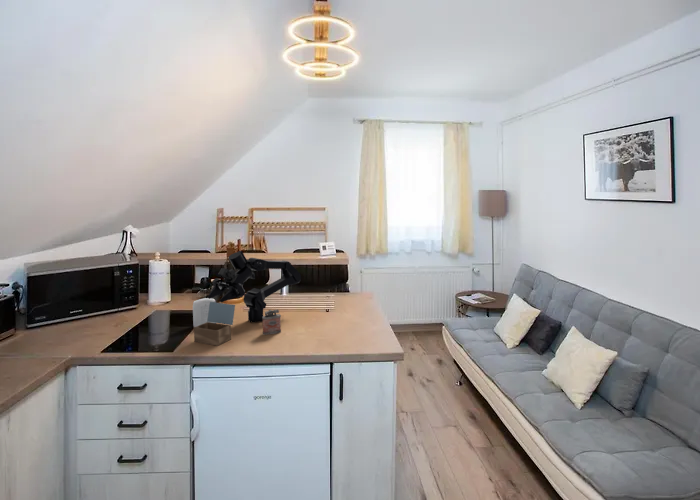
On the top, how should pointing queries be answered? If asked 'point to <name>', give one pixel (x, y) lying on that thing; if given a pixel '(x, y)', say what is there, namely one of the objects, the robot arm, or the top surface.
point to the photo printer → (201, 311)
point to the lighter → (271, 322)
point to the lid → (221, 313)
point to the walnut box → (212, 333)
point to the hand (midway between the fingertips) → (214, 299)
